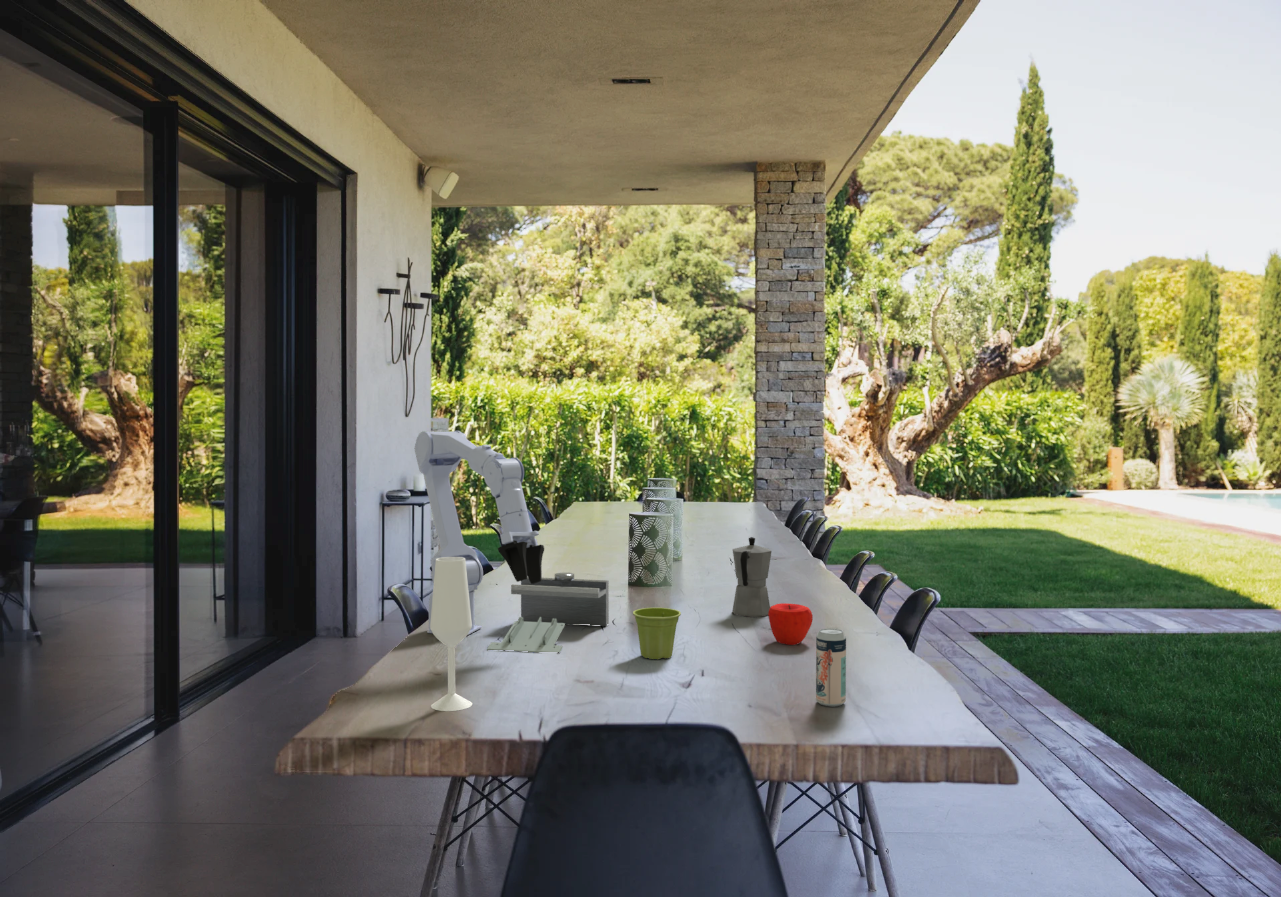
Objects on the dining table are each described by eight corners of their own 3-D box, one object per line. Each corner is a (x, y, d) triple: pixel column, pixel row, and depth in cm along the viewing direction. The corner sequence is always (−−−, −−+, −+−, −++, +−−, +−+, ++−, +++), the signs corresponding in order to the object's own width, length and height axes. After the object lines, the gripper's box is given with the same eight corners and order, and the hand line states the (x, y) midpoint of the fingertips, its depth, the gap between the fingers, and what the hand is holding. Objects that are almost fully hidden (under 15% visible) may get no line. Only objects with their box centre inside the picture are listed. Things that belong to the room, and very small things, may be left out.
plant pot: (686, 652, 202) (686, 609, 202) (672, 664, 193) (672, 618, 193) (642, 649, 205) (642, 606, 205) (626, 660, 196) (626, 615, 196)
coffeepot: (738, 606, 249) (739, 533, 248) (777, 609, 245) (777, 534, 245) (722, 619, 234) (722, 541, 233) (762, 621, 231) (763, 542, 230)
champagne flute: (470, 710, 163) (469, 561, 162) (428, 711, 163) (426, 562, 162) (474, 698, 170) (473, 555, 169) (433, 699, 170) (432, 556, 169)
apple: (817, 640, 212) (817, 603, 212) (803, 649, 205) (803, 610, 204) (776, 636, 217) (777, 599, 216) (761, 644, 209) (761, 606, 209)
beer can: (812, 699, 169) (813, 628, 169) (840, 699, 170) (841, 627, 169) (820, 708, 165) (820, 634, 164) (849, 707, 165) (849, 634, 165)
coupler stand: (511, 627, 225) (511, 577, 224) (526, 619, 234) (525, 570, 233) (598, 632, 220) (598, 581, 219) (610, 623, 229) (609, 574, 228)
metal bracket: (506, 611, 216) (575, 614, 213) (509, 635, 218) (577, 638, 214) (483, 645, 202) (556, 648, 199) (486, 670, 204) (558, 674, 201)
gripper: (518, 505, 196) (534, 573, 193) (545, 514, 210) (560, 577, 207) (485, 516, 198) (500, 583, 194) (514, 524, 212) (528, 587, 208)
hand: (529, 581), depth 201 cm, fingers open, 7 cm apart
